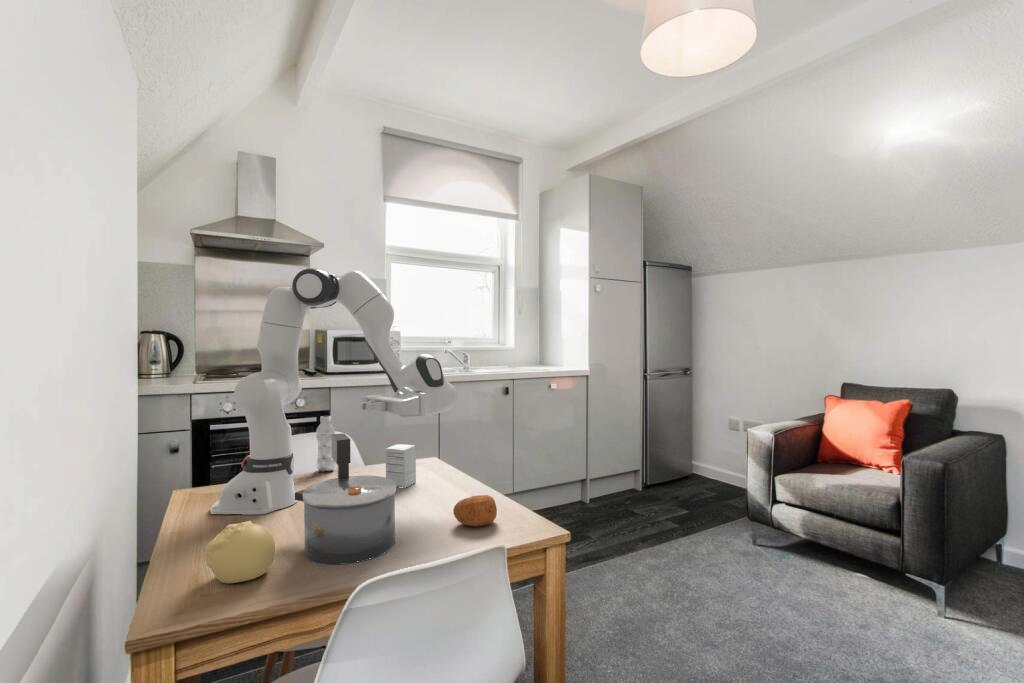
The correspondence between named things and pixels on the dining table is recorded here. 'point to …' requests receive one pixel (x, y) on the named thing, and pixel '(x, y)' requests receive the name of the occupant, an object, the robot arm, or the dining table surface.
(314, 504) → the cooker lid
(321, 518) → the cooker pot
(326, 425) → the plastic bottle
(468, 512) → the potato
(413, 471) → the supplement box
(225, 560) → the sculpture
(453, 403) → the robot arm
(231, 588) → the dining table surface
